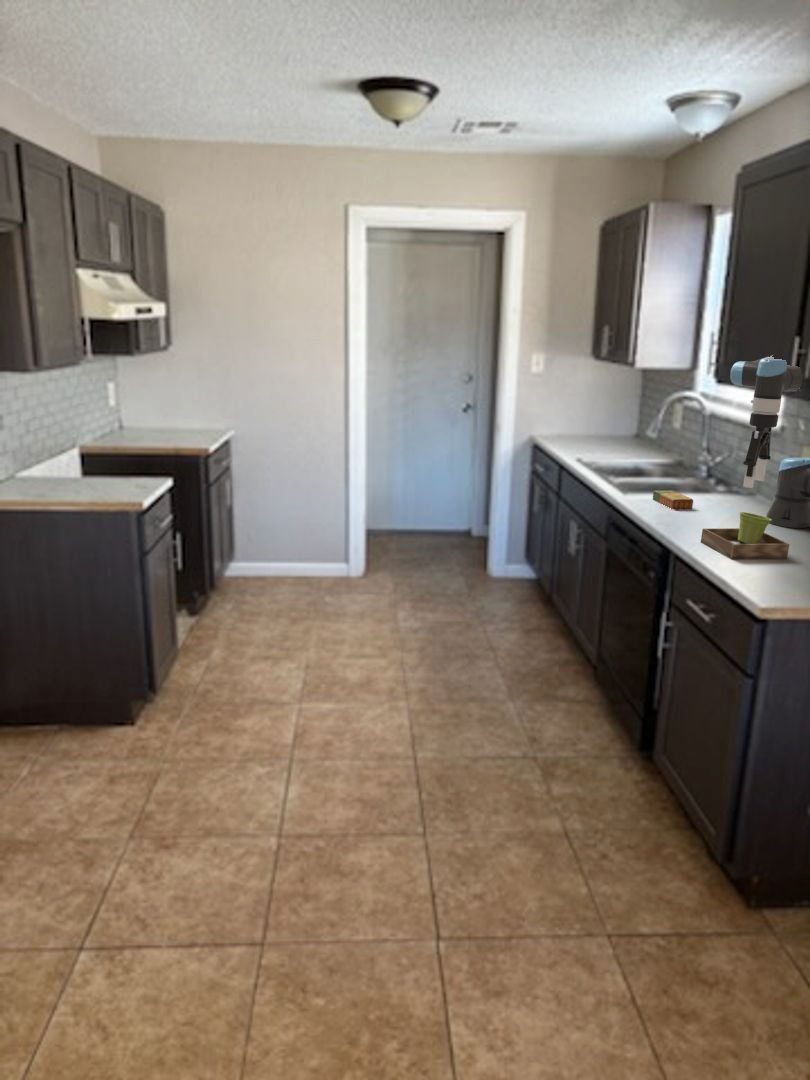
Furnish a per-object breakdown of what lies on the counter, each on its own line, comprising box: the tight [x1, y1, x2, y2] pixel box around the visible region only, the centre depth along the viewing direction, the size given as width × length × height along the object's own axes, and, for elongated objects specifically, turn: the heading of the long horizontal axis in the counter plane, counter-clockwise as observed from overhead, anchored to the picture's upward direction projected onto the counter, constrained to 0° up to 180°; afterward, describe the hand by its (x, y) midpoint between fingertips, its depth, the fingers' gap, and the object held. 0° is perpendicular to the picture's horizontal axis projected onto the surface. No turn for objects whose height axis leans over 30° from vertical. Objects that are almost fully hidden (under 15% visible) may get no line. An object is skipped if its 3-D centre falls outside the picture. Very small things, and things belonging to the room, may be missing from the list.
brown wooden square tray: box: [700, 527, 791, 560], centre depth 252 cm, size 18×18×4 cm
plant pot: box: [738, 511, 772, 544], centre depth 255 cm, size 9×9×9 cm
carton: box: [652, 489, 694, 510], centre depth 310 cm, size 8×16×4 cm, turn 10°
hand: (753, 483), depth 247 cm, fingers open, 13 cm apart
